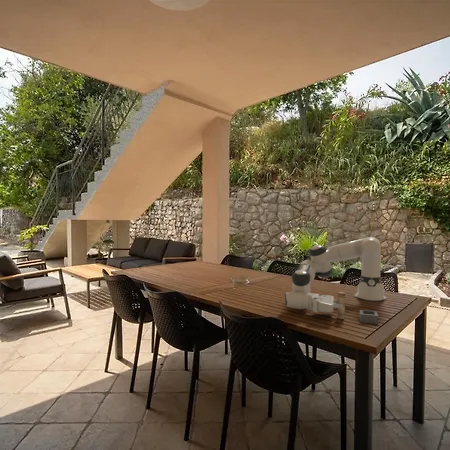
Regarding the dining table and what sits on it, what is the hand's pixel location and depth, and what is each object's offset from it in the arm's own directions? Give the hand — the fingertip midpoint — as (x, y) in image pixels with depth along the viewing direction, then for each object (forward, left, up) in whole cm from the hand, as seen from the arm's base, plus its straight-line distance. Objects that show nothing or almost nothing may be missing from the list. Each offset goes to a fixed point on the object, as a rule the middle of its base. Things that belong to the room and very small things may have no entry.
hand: (343, 304), depth 166 cm
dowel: (0, -1, -7) cm, 7 cm away
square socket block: (0, +12, -7) cm, 14 cm away
